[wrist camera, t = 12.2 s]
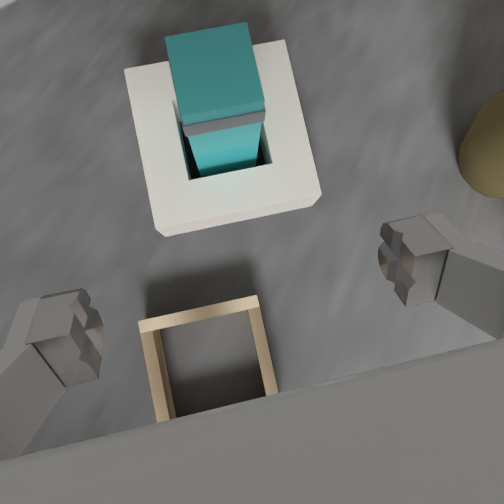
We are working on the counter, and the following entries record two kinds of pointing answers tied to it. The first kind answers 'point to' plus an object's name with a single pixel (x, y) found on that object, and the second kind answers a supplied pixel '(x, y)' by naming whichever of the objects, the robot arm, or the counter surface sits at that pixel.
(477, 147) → the squeeze bottle
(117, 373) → the counter surface
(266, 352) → the beige flat square frame
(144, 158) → the port
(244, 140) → the plug
